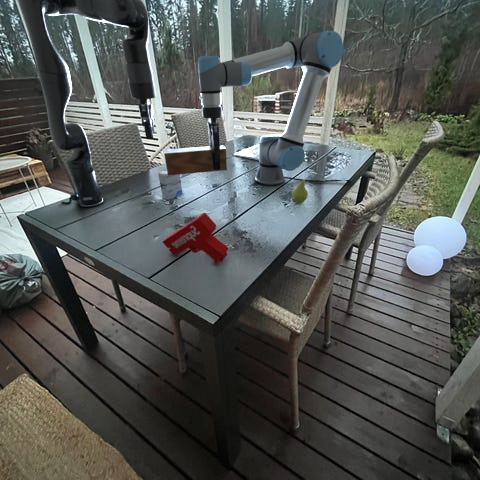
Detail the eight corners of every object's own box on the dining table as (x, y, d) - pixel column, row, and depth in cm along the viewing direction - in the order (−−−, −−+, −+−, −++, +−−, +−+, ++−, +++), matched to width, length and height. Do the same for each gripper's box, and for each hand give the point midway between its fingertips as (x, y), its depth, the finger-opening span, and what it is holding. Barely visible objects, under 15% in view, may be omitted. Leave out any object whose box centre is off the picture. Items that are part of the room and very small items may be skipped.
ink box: (177, 191, 132) (173, 167, 126) (183, 194, 129) (179, 170, 123) (161, 196, 127) (157, 172, 121) (167, 199, 124) (163, 174, 118)
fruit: (288, 200, 123) (290, 174, 116) (302, 197, 125) (305, 172, 119) (296, 206, 118) (299, 179, 111) (310, 203, 120) (314, 177, 114)
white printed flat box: (278, 164, 168) (279, 155, 165) (234, 155, 185) (234, 147, 183) (298, 154, 186) (299, 146, 183) (256, 147, 204) (256, 139, 201)
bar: (224, 165, 117) (223, 145, 112) (226, 170, 112) (226, 148, 108) (167, 170, 113) (164, 149, 108) (167, 175, 108) (164, 153, 103)
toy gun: (235, 250, 84) (205, 211, 80) (230, 257, 81) (199, 217, 77) (197, 268, 94) (169, 235, 90) (191, 276, 91) (162, 241, 87)
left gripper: (131, 80, 89) (141, 132, 97) (124, 82, 77) (137, 141, 86) (155, 79, 90) (162, 131, 99) (152, 81, 78) (161, 140, 87)
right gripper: (198, 103, 108) (204, 161, 121) (204, 109, 93) (210, 175, 105) (217, 102, 109) (220, 159, 122) (226, 108, 94) (228, 173, 107)
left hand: (150, 136), depth 92 cm, fingers open, 8 cm apart
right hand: (215, 166), depth 114 cm, fingers closed on bar, 6 cm apart
